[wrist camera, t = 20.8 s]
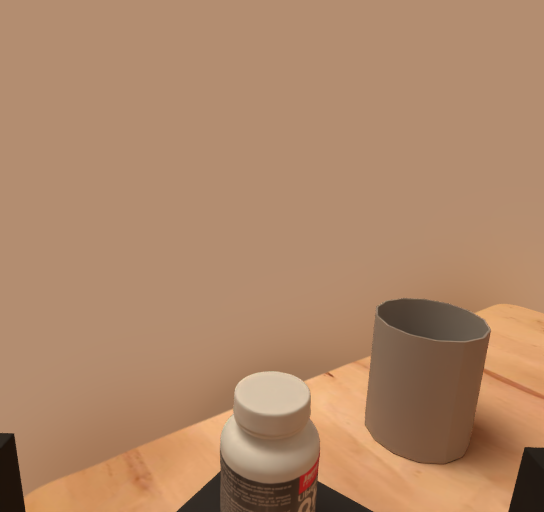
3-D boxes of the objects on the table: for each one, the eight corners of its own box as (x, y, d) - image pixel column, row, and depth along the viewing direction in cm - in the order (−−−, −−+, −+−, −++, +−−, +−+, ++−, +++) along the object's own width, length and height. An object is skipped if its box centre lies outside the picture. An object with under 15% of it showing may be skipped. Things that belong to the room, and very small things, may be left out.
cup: (366, 390, 39) (376, 293, 36) (457, 405, 37) (475, 304, 34) (363, 450, 31) (375, 332, 28) (478, 474, 29) (504, 350, 26)
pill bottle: (318, 587, 21) (331, 426, 18) (214, 586, 20) (213, 423, 18) (308, 499, 26) (317, 364, 23) (225, 497, 26) (225, 362, 23)
